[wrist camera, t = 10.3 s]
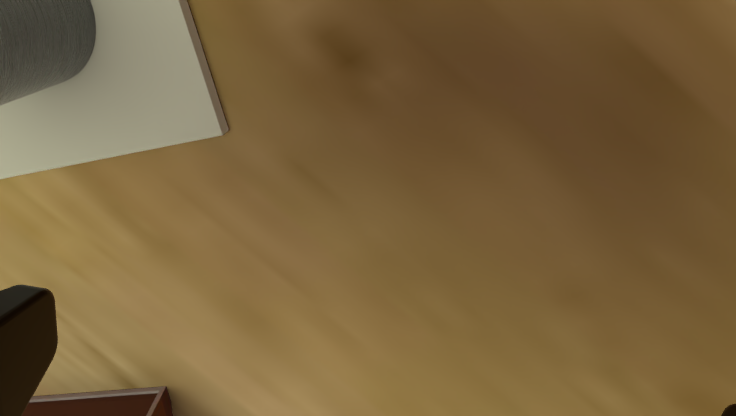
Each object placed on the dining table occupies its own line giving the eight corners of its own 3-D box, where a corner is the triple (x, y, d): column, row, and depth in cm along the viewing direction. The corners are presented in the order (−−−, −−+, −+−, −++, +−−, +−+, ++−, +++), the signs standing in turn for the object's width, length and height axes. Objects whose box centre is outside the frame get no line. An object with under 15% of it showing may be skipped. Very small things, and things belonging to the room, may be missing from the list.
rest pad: (119, -210, 17) (108, -215, 17) (228, 130, 21) (222, 135, 20) (-163, -115, 19) (-180, -117, 19) (-19, 179, 23) (-30, 184, 23)
